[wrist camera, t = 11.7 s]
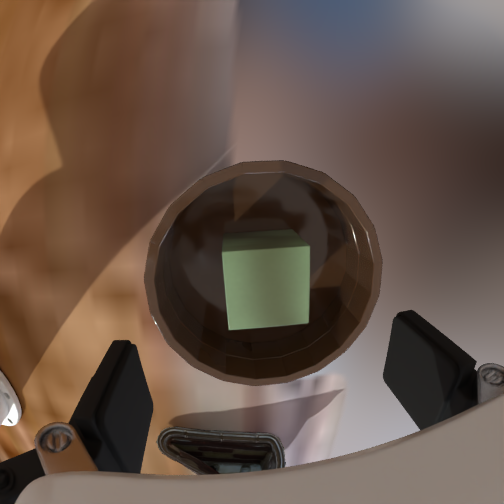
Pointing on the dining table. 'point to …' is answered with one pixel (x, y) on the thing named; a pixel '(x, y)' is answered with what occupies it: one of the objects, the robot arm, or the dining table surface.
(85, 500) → the robot arm
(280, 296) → the green cube
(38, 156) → the dining table surface
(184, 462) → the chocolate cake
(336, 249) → the bowl
